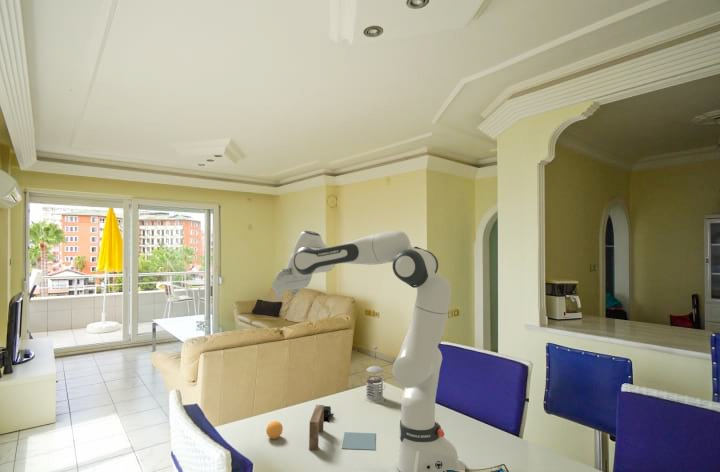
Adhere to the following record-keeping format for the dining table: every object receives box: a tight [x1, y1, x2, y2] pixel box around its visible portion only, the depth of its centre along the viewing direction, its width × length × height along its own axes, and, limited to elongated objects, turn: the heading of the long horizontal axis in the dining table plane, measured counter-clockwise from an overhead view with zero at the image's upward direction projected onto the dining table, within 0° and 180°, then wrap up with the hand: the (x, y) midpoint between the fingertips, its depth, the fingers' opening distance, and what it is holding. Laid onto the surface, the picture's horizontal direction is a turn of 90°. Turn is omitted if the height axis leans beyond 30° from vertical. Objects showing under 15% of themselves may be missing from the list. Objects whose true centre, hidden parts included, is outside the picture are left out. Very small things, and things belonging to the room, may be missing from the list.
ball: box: [265, 420, 284, 439], centre depth 143 cm, size 6×6×6 cm
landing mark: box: [341, 431, 376, 451], centre depth 142 cm, size 12×12×1 cm
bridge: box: [308, 404, 325, 451], centre depth 143 cm, size 3×15×10 cm, turn 178°
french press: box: [363, 345, 386, 404], centre depth 182 cm, size 10×12×25 cm
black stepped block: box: [324, 405, 335, 423], centre depth 161 cm, size 12×7×5 cm, turn 170°
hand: (285, 297), depth 156 cm, fingers open, 8 cm apart
